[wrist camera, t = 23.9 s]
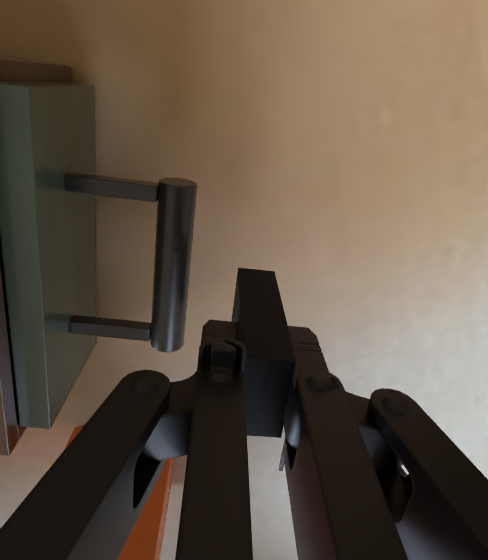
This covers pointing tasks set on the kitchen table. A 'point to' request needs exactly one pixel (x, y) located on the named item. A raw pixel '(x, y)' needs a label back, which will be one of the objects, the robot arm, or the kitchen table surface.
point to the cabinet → (3, 400)
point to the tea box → (148, 518)
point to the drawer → (72, 244)
